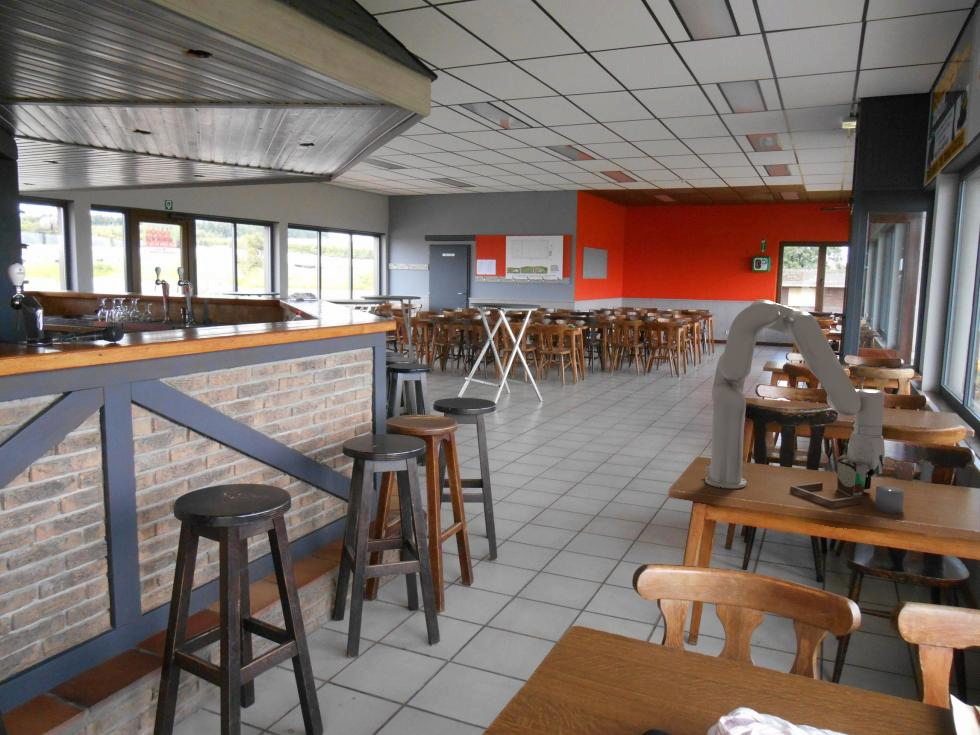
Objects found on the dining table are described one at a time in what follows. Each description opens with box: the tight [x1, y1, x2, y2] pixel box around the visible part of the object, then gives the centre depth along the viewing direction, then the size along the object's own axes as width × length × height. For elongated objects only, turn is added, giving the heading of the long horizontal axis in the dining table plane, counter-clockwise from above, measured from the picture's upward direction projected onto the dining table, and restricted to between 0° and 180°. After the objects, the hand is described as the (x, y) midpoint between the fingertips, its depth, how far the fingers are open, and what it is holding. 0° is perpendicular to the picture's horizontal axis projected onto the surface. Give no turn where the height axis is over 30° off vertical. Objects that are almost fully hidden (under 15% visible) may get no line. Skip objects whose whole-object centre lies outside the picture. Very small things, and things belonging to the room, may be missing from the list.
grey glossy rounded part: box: [874, 485, 905, 515], centre depth 206 cm, size 7×7×6 cm
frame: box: [789, 481, 864, 509], centre depth 217 cm, size 16×12×2 cm
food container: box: [835, 456, 869, 497], centre depth 221 cm, size 12×6×10 cm, turn 2°
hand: (864, 488), depth 223 cm, fingers closed
